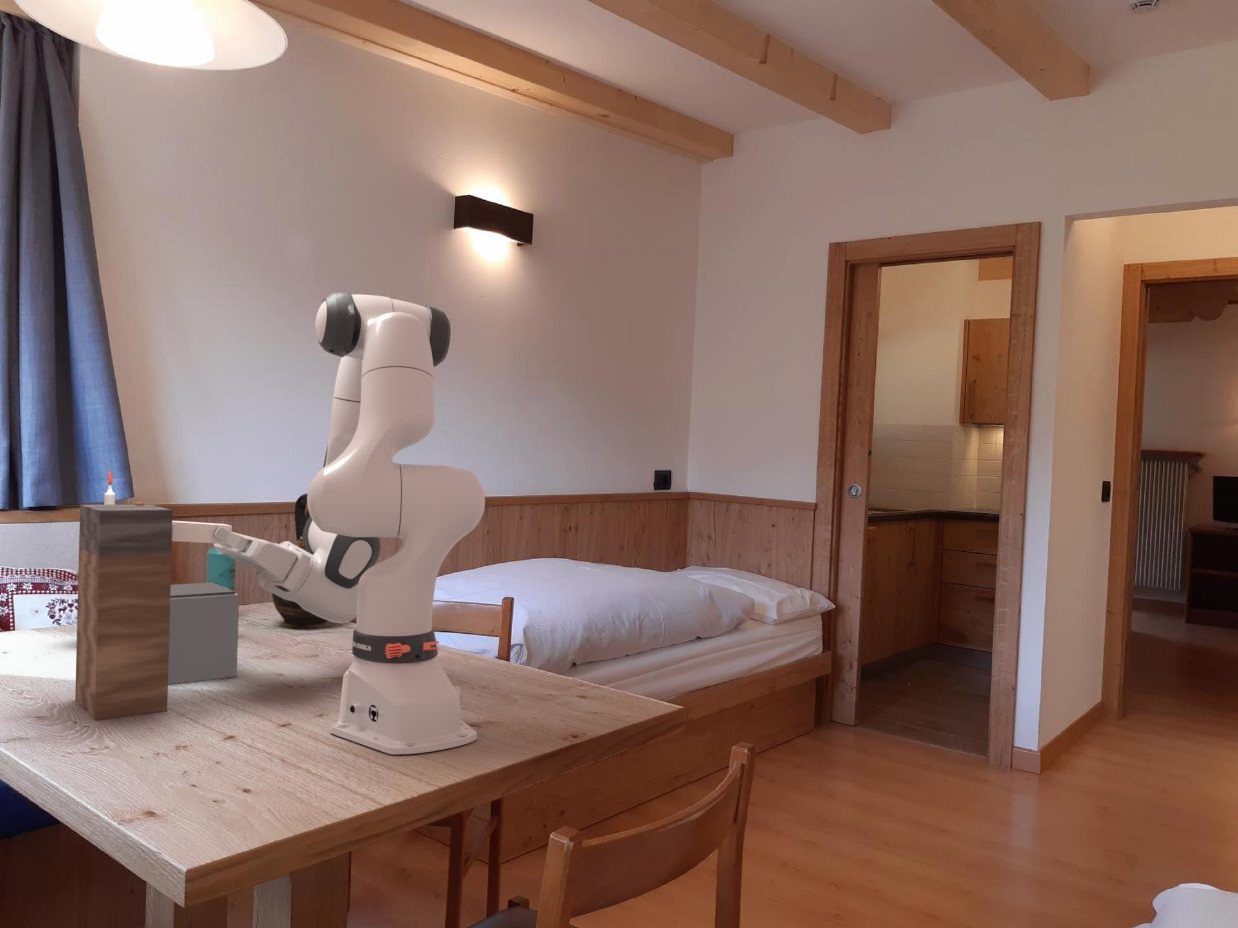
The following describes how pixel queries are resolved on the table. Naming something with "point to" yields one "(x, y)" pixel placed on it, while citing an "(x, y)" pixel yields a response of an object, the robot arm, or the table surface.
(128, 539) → the stand
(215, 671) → the shelf
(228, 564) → the beverage bottle
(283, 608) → the ceramic jug
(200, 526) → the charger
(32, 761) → the table surface
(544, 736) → the table surface
